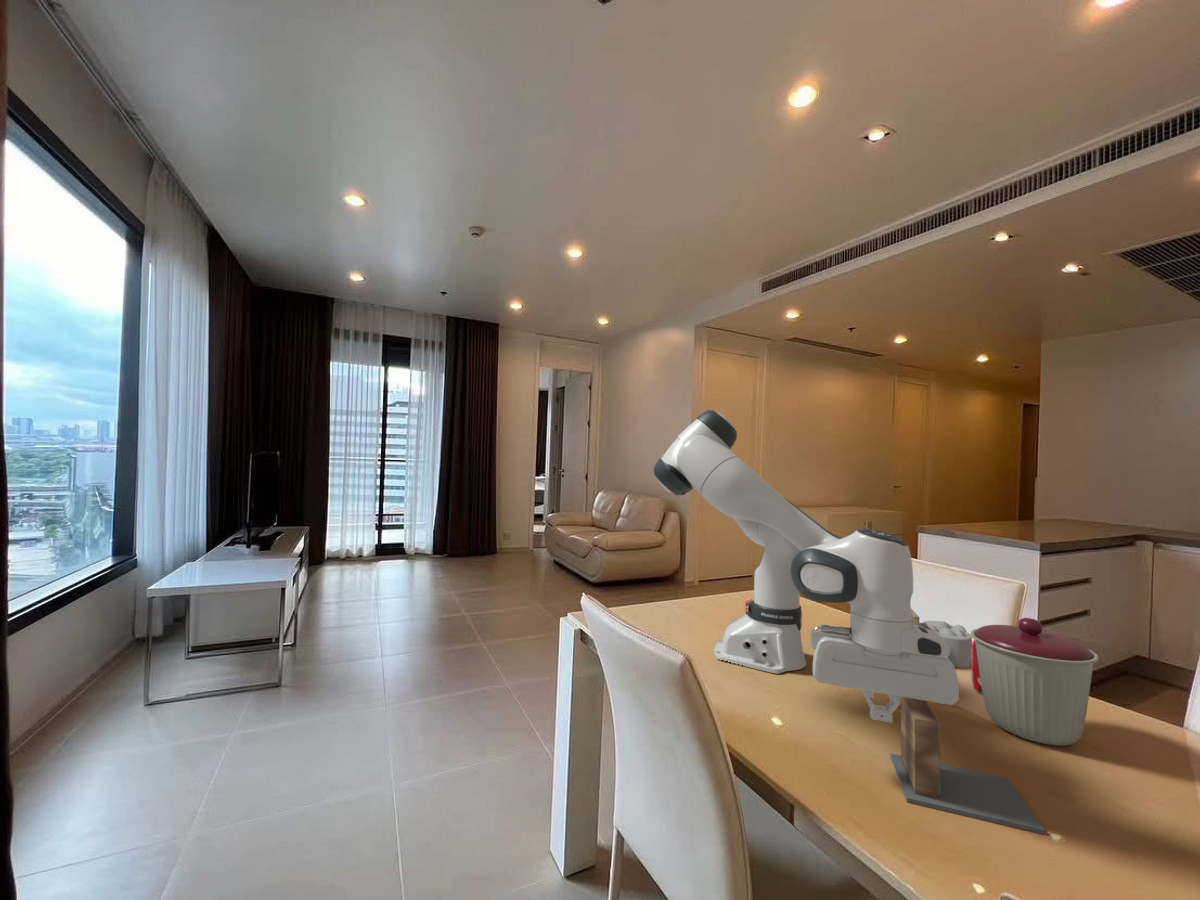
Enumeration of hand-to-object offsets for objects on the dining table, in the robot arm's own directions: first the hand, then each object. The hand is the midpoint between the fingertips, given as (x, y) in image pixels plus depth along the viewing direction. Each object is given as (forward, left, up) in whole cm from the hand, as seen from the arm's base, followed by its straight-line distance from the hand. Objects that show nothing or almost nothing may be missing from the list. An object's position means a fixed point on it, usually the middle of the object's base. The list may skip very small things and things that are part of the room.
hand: (880, 719), depth 77 cm
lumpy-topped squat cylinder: (+25, +64, -9) cm, 70 cm away
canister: (+29, +27, -9) cm, 41 cm away
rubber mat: (+10, 0, -9) cm, 13 cm away
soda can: (+28, +43, -9) cm, 52 cm away
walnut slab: (+5, 0, -8) cm, 10 cm away
